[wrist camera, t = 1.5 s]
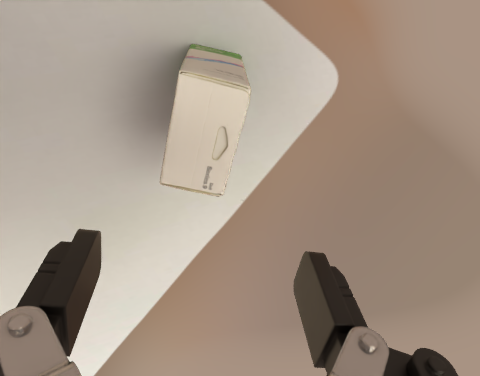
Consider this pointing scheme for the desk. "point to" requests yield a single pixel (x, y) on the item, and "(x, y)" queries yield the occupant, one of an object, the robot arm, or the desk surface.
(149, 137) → the desk surface
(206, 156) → the ink box
